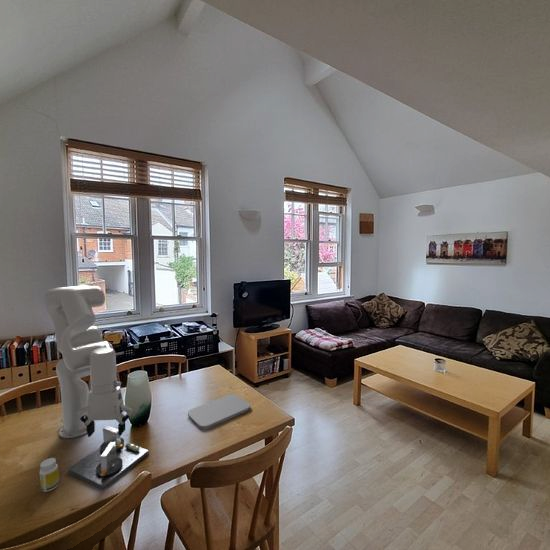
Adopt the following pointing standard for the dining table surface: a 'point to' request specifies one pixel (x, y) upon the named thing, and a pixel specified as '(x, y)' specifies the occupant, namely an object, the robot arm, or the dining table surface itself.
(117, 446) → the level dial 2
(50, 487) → the supplement bottle
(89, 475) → the base plate
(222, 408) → the tablet
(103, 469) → the level dial
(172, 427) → the dining table surface
